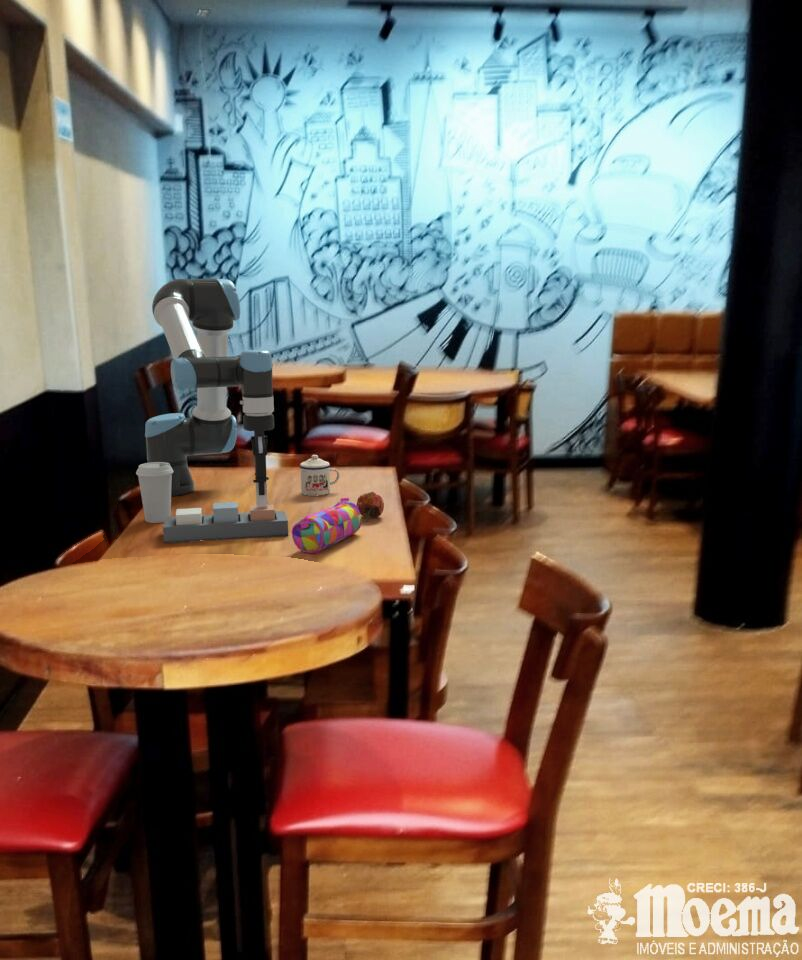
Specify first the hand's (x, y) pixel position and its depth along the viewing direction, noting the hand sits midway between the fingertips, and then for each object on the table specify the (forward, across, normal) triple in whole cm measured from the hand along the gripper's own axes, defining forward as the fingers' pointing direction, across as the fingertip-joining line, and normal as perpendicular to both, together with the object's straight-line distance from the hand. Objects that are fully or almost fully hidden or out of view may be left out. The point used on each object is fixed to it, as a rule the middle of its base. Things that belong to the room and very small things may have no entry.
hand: (262, 506), depth 216 cm
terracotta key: (+5, 0, 0) cm, 5 cm away
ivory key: (+5, 0, -18) cm, 19 cm away
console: (+7, 0, -9) cm, 11 cm away
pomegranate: (+7, -8, +29) cm, 31 cm away
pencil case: (+7, +13, +15) cm, 21 cm away
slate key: (+4, 0, -9) cm, 10 cm away
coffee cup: (+7, -18, -27) cm, 33 cm away
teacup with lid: (+7, -40, +19) cm, 45 cm away
